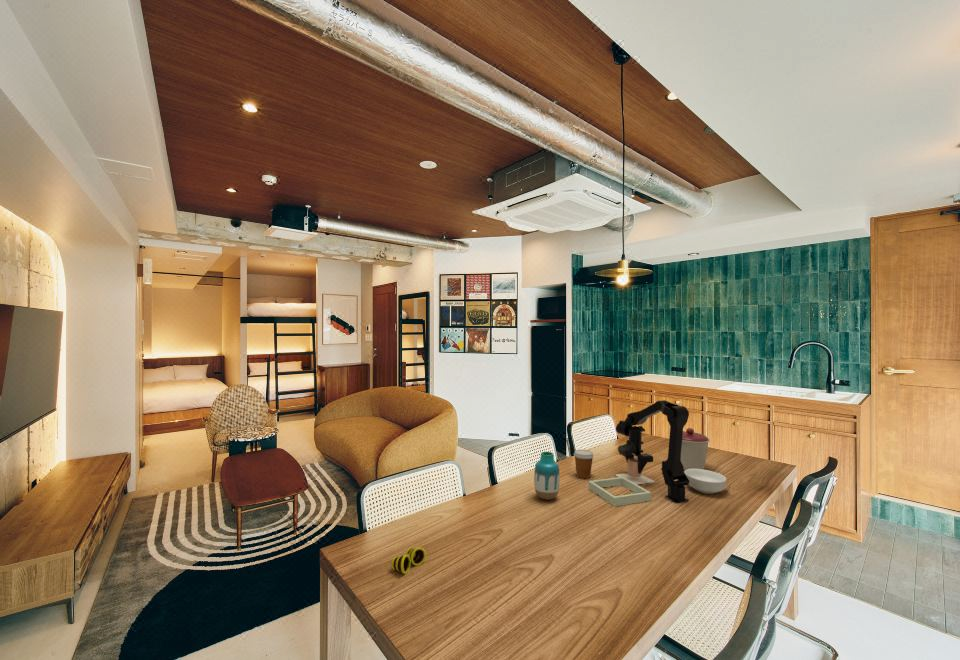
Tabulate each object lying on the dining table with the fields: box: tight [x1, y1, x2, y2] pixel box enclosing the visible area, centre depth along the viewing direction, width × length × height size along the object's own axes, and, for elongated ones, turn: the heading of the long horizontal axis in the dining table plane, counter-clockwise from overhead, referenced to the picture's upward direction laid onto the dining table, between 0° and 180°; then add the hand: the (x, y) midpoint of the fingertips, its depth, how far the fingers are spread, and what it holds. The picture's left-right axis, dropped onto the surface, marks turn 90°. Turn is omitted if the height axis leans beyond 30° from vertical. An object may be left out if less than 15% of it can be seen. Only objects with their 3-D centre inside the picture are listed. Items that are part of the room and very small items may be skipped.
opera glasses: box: [391, 546, 427, 575], centre depth 121 cm, size 10×5×5 cm, turn 143°
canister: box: [681, 427, 711, 471], centre depth 208 cm, size 18×18×21 cm
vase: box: [533, 451, 561, 501], centre depth 170 cm, size 11×11×19 cm
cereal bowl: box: [684, 469, 728, 495], centre depth 180 cm, size 17×17×7 cm
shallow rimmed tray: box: [588, 477, 652, 507], centre depth 174 cm, size 18×18×4 cm
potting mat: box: [615, 472, 656, 486], centre depth 193 cm, size 13×13×1 cm
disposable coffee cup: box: [573, 448, 595, 479], centre depth 195 cm, size 10×10×12 cm
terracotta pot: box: [626, 457, 643, 477], centre depth 192 cm, size 6×6×7 cm
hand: (634, 471), depth 192 cm, fingers closed on terracotta pot, 6 cm apart
